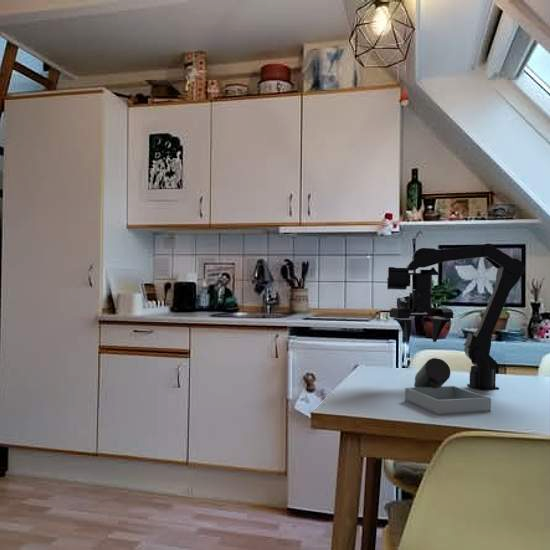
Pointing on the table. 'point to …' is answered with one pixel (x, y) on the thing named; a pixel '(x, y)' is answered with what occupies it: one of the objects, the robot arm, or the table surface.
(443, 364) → the supplement bottle
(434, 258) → the robot arm
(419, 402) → the tub
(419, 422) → the table surface
